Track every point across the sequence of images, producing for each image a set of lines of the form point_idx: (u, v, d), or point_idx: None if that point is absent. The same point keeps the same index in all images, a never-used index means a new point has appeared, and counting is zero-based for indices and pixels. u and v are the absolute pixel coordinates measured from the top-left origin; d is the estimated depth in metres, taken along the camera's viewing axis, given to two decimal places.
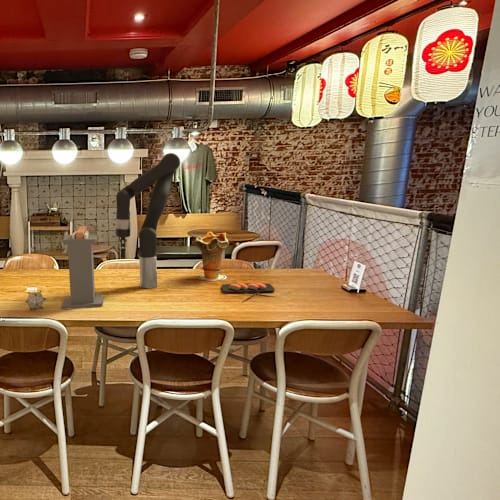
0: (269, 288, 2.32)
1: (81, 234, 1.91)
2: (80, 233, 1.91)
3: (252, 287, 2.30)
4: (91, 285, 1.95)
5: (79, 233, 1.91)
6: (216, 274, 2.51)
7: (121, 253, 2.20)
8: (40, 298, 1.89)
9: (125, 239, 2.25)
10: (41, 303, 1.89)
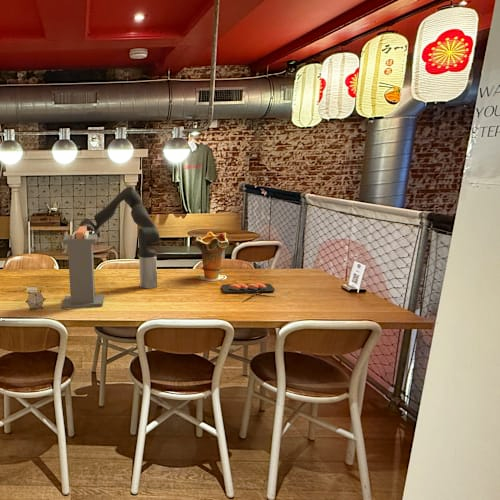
0: (269, 288, 2.32)
1: (81, 234, 1.91)
2: (80, 233, 1.91)
3: (252, 287, 2.30)
4: (91, 285, 1.95)
5: (79, 233, 1.91)
6: (216, 274, 2.51)
7: None
8: (40, 298, 1.89)
9: None
10: (41, 303, 1.89)
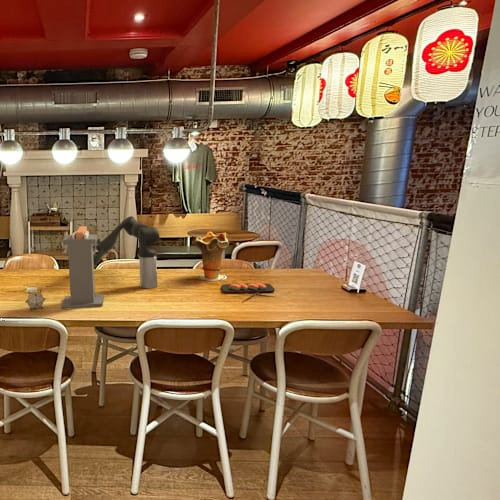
0: (269, 288, 2.32)
1: (81, 234, 1.91)
2: (80, 233, 1.91)
3: (252, 287, 2.29)
4: (91, 285, 1.95)
5: (79, 233, 1.91)
6: (216, 274, 2.51)
7: None
8: (40, 298, 1.89)
9: None
10: (41, 303, 1.89)
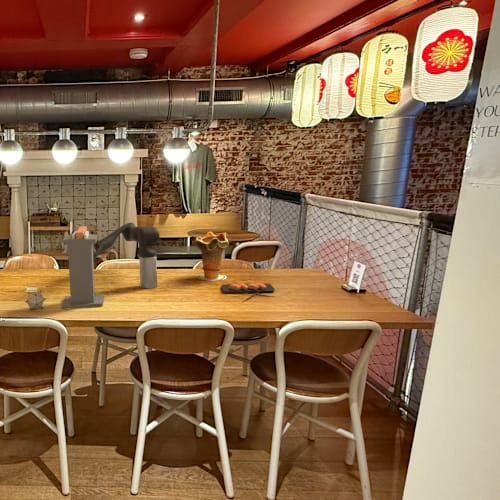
0: (269, 288, 2.32)
1: (81, 234, 1.91)
2: (80, 233, 1.91)
3: (252, 287, 2.29)
4: (91, 285, 1.95)
5: (79, 233, 1.91)
6: (216, 274, 2.51)
7: None
8: (40, 298, 1.89)
9: None
10: (41, 303, 1.89)
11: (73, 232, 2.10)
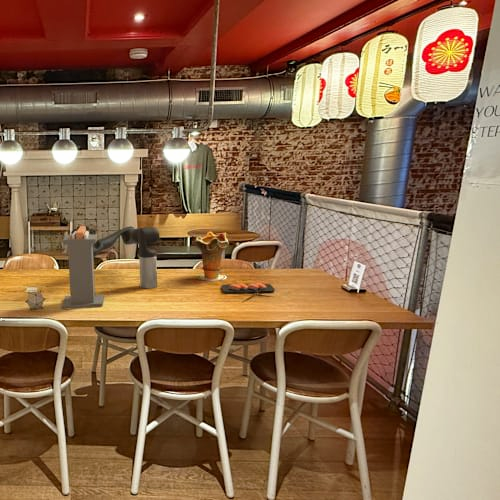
0: (269, 288, 2.32)
1: (81, 234, 1.91)
2: (80, 233, 1.91)
3: (252, 287, 2.29)
4: (91, 285, 1.95)
5: (79, 233, 1.91)
6: (216, 274, 2.51)
7: None
8: (40, 298, 1.89)
9: None
10: (41, 303, 1.89)
11: (78, 227, 2.06)
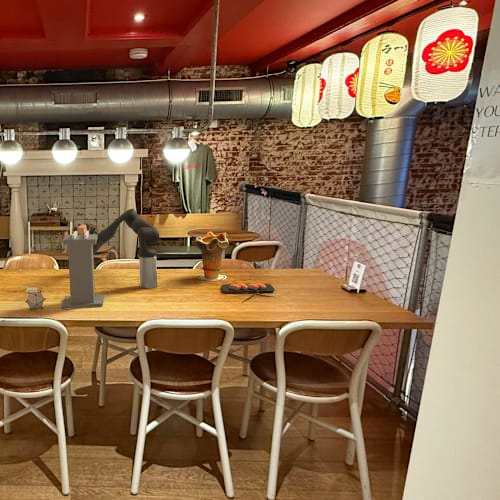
0: (269, 288, 2.32)
1: (82, 229, 2.04)
2: (81, 228, 2.04)
3: (252, 287, 2.29)
4: (91, 285, 1.95)
5: (80, 228, 2.04)
6: (216, 274, 2.51)
7: None
8: (40, 298, 1.89)
9: None
10: (41, 303, 1.89)
11: (79, 225, 2.19)
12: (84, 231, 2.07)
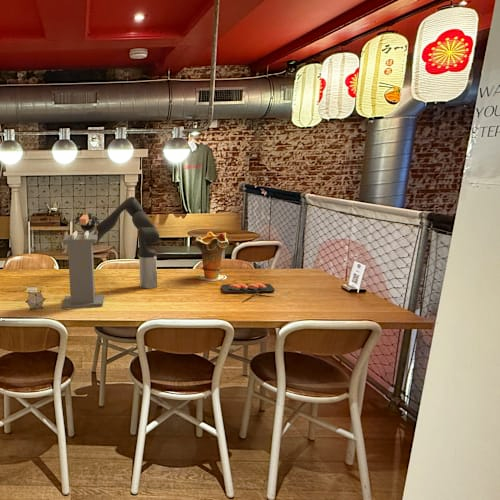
0: (269, 288, 2.32)
1: (84, 220, 2.08)
2: (83, 219, 2.07)
3: (252, 287, 2.29)
4: (91, 285, 1.95)
5: (82, 219, 2.07)
6: (216, 274, 2.51)
7: None
8: (40, 298, 1.89)
9: None
10: (41, 303, 1.89)
11: (81, 214, 2.22)
12: (86, 222, 2.11)
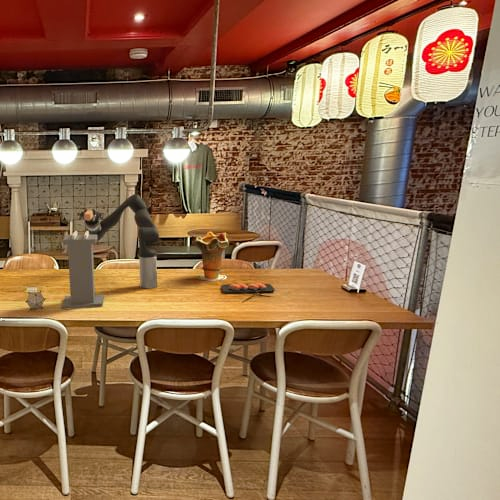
0: (269, 288, 2.32)
1: (89, 216, 2.11)
2: (88, 215, 2.11)
3: (252, 287, 2.29)
4: (91, 285, 1.95)
5: (87, 215, 2.11)
6: (216, 274, 2.51)
7: None
8: (40, 298, 1.89)
9: (88, 220, 2.35)
10: (41, 303, 1.89)
11: (86, 210, 2.26)
12: None
